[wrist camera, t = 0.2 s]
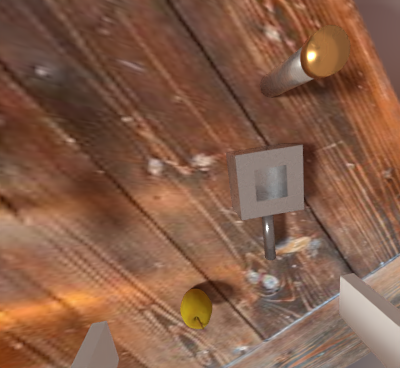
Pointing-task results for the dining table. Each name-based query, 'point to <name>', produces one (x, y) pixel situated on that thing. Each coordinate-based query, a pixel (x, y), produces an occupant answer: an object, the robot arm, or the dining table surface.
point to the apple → (196, 308)
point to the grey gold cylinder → (309, 61)
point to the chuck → (266, 185)
